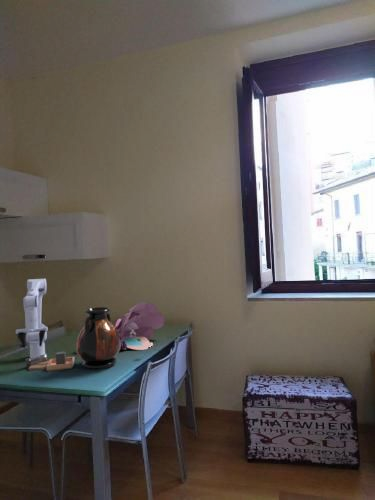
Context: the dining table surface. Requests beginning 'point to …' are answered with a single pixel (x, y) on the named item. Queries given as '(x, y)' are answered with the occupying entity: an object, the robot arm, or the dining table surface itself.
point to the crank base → (39, 365)
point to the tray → (53, 366)
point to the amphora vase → (98, 340)
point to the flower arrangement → (139, 326)
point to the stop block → (60, 358)
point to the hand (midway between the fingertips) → (32, 346)
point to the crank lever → (35, 360)
